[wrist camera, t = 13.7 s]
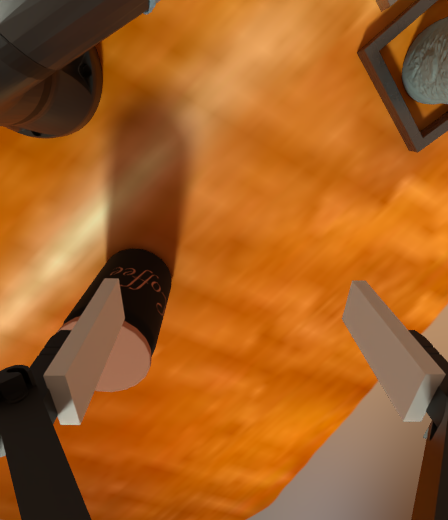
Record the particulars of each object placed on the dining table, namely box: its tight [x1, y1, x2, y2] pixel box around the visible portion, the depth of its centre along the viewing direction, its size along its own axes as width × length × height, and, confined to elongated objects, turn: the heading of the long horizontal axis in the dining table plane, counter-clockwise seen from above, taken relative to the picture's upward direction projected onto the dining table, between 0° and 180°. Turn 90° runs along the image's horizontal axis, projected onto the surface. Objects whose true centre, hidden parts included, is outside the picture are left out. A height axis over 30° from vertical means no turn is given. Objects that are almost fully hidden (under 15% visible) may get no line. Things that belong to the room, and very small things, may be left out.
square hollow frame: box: [357, 0, 448, 152], centre depth 35 cm, size 14×14×2 cm
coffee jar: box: [58, 249, 171, 392], centre depth 40 cm, size 11×11×18 cm
